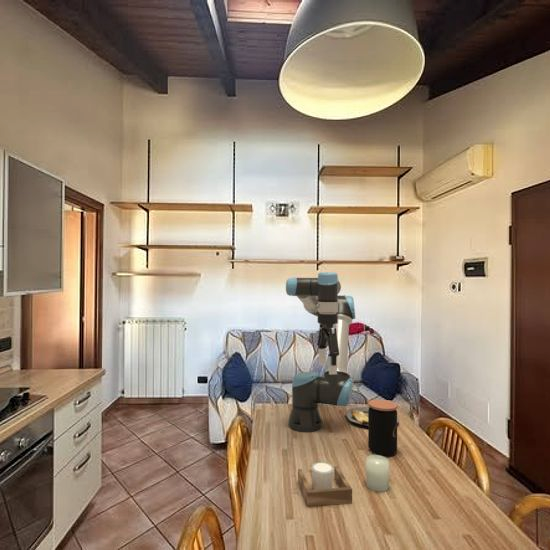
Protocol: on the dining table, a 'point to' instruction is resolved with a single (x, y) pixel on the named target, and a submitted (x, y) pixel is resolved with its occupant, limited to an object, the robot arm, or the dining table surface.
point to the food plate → (359, 415)
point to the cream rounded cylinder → (377, 473)
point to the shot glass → (322, 475)
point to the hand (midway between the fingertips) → (327, 369)
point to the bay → (326, 491)
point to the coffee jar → (382, 427)
